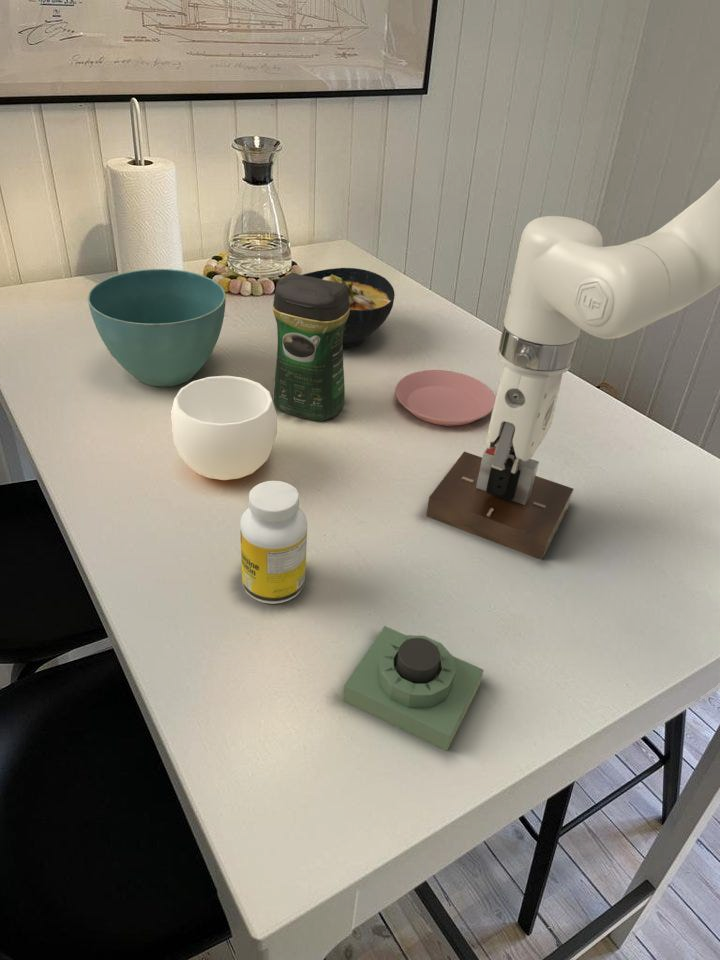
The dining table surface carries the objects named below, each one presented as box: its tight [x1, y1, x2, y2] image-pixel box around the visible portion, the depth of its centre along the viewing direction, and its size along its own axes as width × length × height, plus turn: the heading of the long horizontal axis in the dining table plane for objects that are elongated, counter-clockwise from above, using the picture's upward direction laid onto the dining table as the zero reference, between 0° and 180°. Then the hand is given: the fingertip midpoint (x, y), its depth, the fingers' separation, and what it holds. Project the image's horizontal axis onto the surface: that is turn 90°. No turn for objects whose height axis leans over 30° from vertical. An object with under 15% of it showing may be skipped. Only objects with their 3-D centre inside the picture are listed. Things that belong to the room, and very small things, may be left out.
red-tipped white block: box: [476, 445, 540, 505], centre depth 86 cm, size 6×2×5 cm, turn 62°
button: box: [397, 638, 440, 683], centre depth 65 cm, size 4×4×2 cm
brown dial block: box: [425, 451, 574, 561], centre depth 88 cm, size 14×11×3 cm
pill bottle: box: [239, 480, 308, 605], centre depth 74 cm, size 6×6×12 cm
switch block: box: [342, 625, 484, 752], centre depth 66 cm, size 10×8×4 cm
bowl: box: [302, 267, 396, 350], centre depth 120 cm, size 17×17×10 cm
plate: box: [394, 369, 496, 427], centre depth 108 cm, size 14×14×2 cm
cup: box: [170, 375, 278, 481], centre depth 90 cm, size 12×12×10 cm
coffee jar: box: [272, 271, 350, 422], centre depth 100 cm, size 10×8×19 cm
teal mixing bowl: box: [87, 268, 227, 388], centre depth 106 cm, size 18×18×12 cm
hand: (503, 488), depth 87 cm, fingers closed on red-tipped white block, 2 cm apart
